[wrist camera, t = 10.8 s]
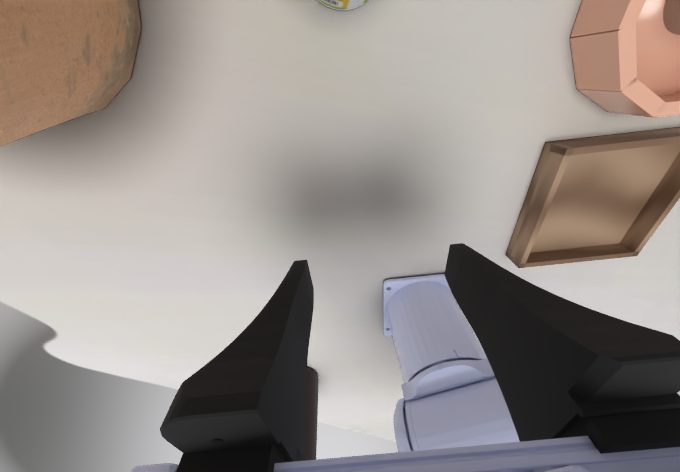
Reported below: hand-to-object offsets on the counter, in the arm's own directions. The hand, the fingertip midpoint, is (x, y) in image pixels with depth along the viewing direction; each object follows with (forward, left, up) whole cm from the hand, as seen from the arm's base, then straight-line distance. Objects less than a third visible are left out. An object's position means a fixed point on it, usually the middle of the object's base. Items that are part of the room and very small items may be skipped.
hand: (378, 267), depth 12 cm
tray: (-3, -20, -9) cm, 22 cm away
